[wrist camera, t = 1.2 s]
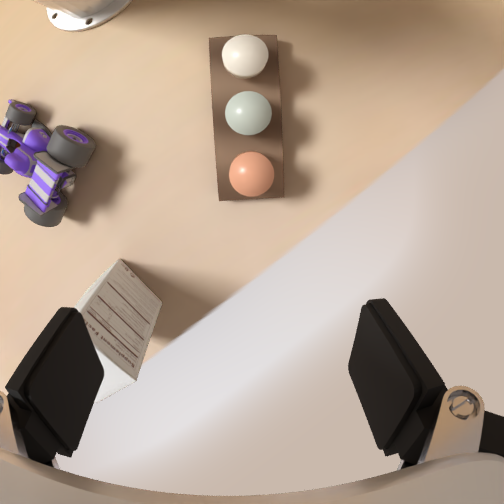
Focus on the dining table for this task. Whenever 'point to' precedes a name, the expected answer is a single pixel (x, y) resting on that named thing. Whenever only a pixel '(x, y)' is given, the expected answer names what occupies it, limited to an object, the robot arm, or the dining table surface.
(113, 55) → the dining table surface
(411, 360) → the robot arm
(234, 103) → the sage button
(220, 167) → the button plate
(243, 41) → the cream button
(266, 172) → the terracotta button
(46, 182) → the toy race car
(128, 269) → the supplement box
